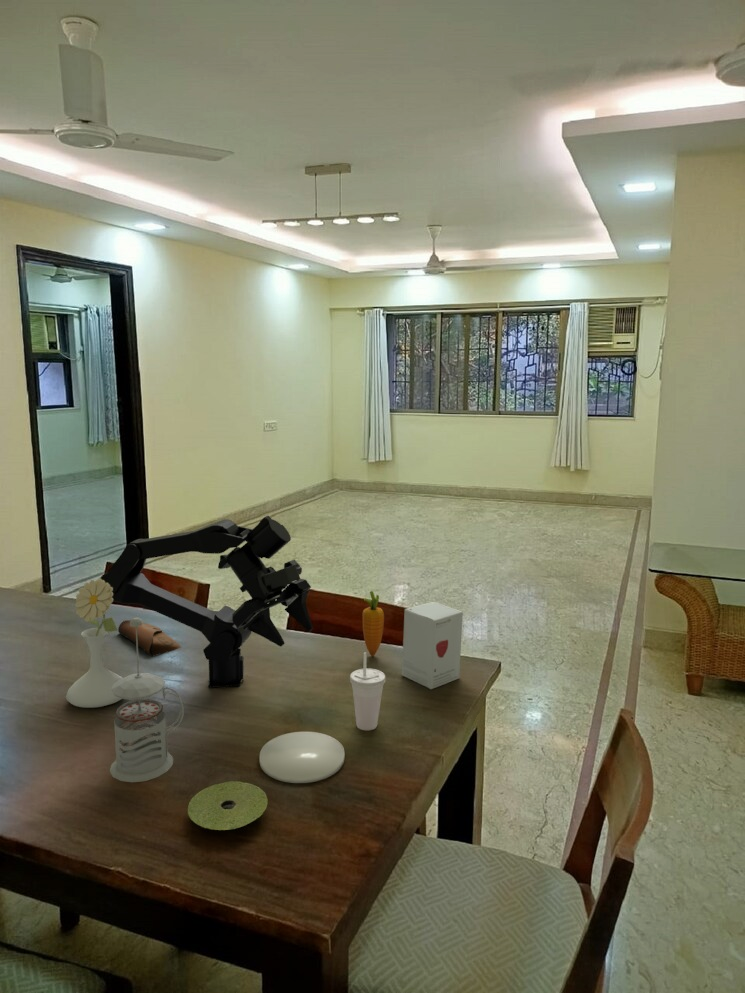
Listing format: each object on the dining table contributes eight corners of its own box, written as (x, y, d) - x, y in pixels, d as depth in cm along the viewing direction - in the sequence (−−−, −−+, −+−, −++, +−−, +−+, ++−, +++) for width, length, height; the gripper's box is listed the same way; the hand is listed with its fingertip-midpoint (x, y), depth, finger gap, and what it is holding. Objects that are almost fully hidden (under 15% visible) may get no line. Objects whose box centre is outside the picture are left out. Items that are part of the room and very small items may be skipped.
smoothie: (348, 717, 129) (349, 646, 126) (382, 716, 129) (384, 645, 127) (350, 734, 122) (351, 660, 120) (386, 733, 123) (387, 659, 120)
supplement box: (431, 690, 140) (433, 620, 137) (400, 676, 147) (402, 608, 144) (461, 678, 146) (464, 611, 143) (430, 664, 153) (432, 600, 150)
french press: (108, 755, 114) (100, 611, 110) (180, 741, 119) (175, 603, 114) (111, 787, 105) (103, 632, 101) (188, 772, 110) (184, 622, 106)
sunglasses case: (184, 647, 159) (170, 627, 156) (160, 669, 156) (145, 648, 153) (151, 625, 172) (136, 606, 169) (128, 645, 169) (113, 626, 166)
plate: (258, 785, 107) (258, 779, 106) (260, 738, 120) (260, 733, 120) (348, 780, 108) (348, 774, 108) (340, 735, 122) (340, 729, 122)
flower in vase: (56, 699, 133) (48, 574, 129) (112, 681, 141) (106, 563, 137) (87, 723, 124) (79, 590, 120) (145, 702, 133) (140, 577, 128)
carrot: (381, 661, 154) (382, 597, 151) (359, 659, 155) (360, 595, 152) (385, 653, 158) (386, 590, 156) (364, 650, 159) (365, 588, 157)
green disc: (264, 840, 94) (264, 827, 94) (181, 843, 93) (180, 830, 93) (270, 791, 105) (270, 779, 105) (195, 793, 104) (195, 782, 104)
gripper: (243, 560, 125) (292, 630, 122) (303, 540, 141) (348, 601, 138) (211, 594, 130) (257, 662, 127) (273, 571, 146) (315, 631, 143)
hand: (297, 637), depth 133 cm, fingers open, 9 cm apart
